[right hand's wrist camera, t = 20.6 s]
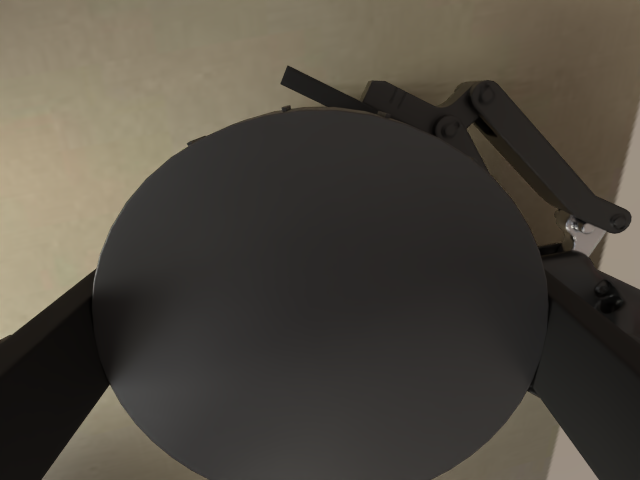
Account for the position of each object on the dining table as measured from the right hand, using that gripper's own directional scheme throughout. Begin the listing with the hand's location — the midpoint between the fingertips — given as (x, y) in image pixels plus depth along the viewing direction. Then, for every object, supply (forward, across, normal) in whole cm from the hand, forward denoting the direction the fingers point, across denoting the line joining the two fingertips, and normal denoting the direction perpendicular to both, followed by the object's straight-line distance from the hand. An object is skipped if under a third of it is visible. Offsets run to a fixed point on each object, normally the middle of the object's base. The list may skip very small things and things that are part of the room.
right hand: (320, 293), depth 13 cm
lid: (-3, 0, 0) cm, 3 cm away
